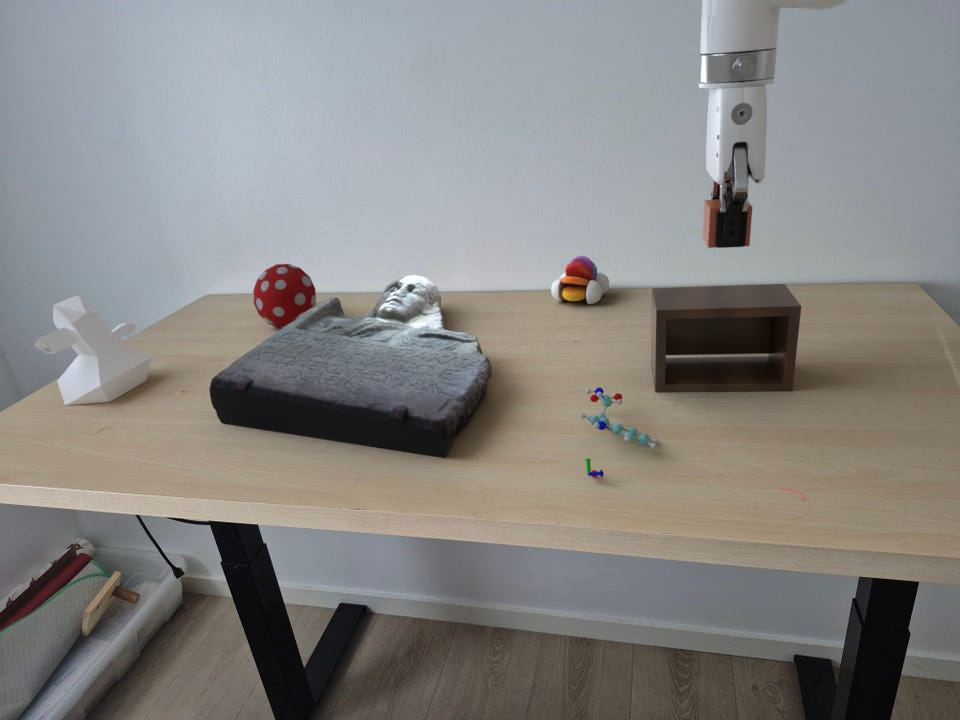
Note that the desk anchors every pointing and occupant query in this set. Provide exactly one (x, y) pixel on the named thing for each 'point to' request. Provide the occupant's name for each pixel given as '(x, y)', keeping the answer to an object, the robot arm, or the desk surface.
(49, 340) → the white animal head
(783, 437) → the desk surface
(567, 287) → the rainbow toy buggy
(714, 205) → the box
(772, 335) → the shelf
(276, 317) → the red polka dot ball
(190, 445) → the desk surface
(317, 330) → the bust sculpture
